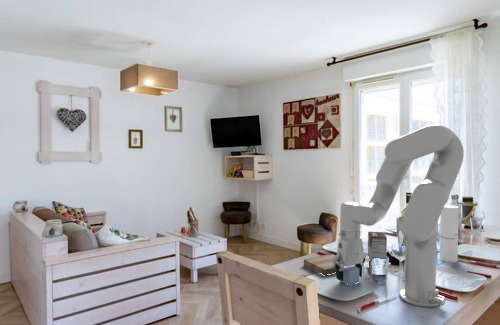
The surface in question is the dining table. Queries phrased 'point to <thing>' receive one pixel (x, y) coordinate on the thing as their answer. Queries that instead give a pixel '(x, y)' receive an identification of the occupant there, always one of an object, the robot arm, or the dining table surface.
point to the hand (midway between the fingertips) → (349, 277)
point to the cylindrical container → (449, 233)
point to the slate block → (350, 274)
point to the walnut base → (321, 264)
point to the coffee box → (376, 247)
